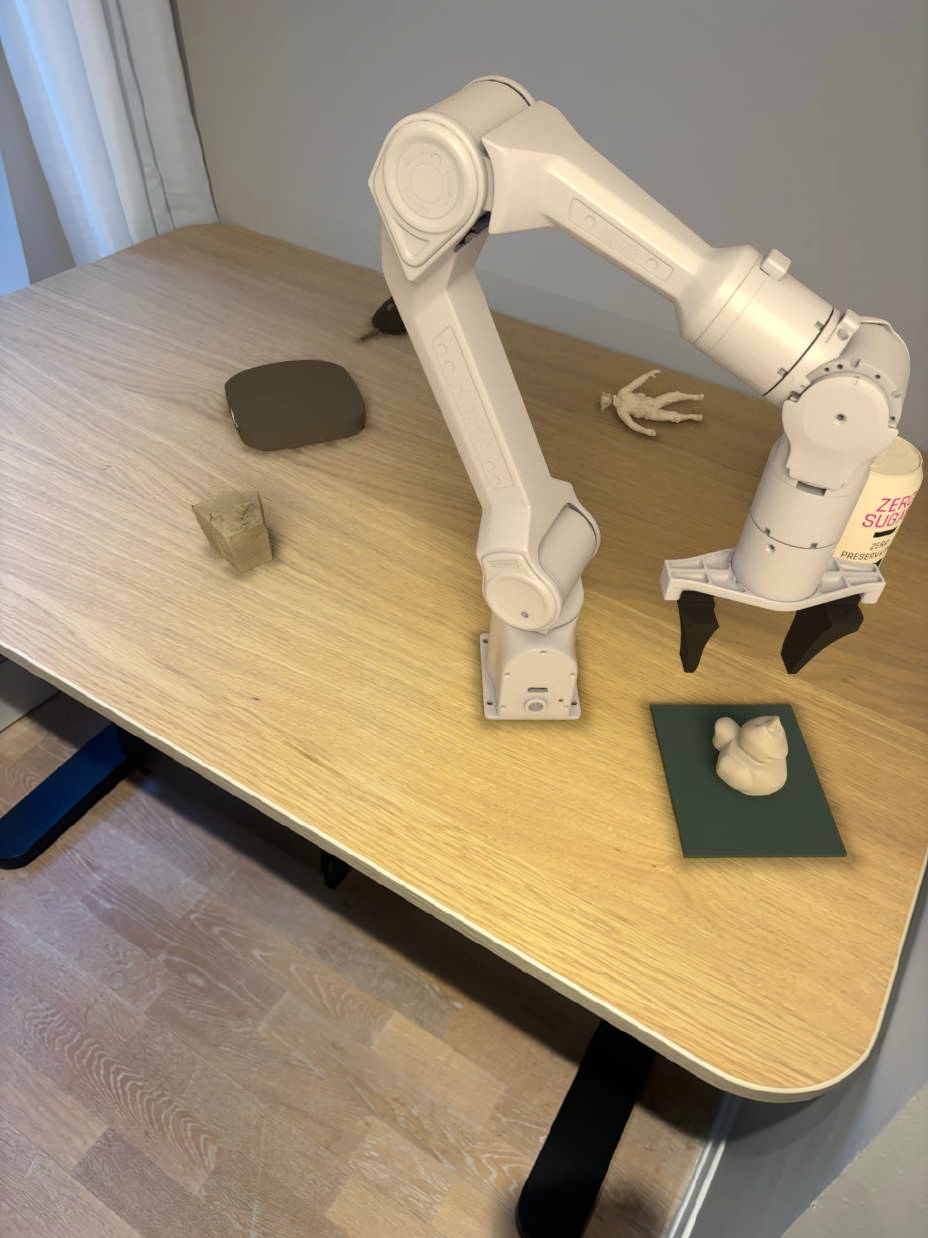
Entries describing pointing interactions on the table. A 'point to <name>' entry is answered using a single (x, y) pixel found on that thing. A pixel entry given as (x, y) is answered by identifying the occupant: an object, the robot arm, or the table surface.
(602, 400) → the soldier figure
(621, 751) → the table surface
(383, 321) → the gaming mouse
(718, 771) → the cream rounded figure
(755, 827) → the mat
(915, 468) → the supplement can
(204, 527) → the mineral specimen
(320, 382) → the media streaming box
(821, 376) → the robot arm
